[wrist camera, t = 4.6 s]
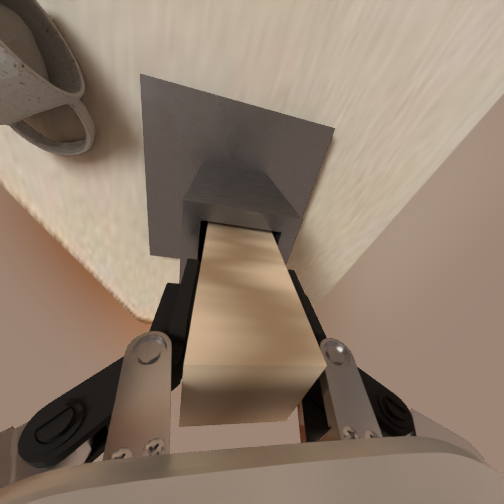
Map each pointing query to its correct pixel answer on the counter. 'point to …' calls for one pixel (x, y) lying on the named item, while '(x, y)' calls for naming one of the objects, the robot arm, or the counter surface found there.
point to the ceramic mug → (38, 75)
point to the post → (246, 334)
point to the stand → (223, 168)
